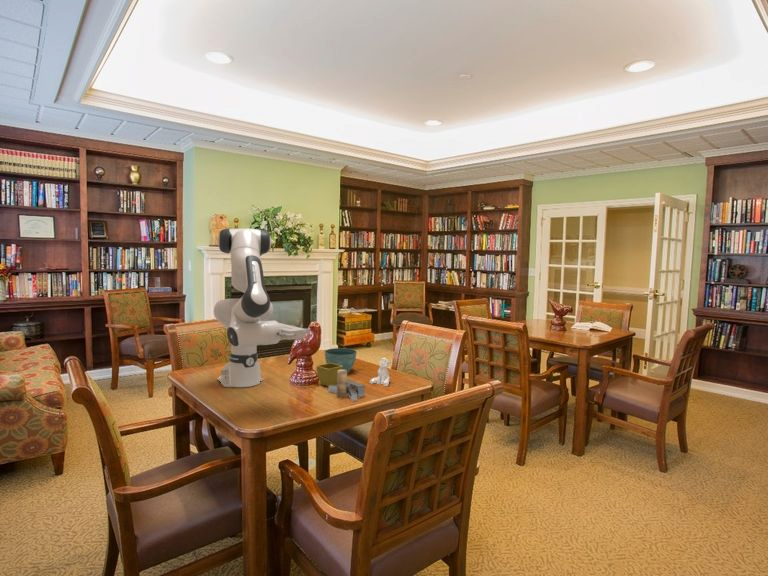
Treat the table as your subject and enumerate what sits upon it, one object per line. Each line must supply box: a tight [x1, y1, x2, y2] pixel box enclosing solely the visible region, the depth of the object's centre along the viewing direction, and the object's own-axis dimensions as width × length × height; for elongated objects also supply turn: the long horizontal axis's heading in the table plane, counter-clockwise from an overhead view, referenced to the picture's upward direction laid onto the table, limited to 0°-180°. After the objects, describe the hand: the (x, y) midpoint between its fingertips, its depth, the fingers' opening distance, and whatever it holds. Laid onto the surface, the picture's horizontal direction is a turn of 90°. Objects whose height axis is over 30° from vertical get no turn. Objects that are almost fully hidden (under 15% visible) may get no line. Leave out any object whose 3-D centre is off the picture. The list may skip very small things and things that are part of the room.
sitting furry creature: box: [369, 357, 392, 387], centre depth 219 cm, size 10×9×12 cm
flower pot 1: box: [324, 347, 358, 374], centre depth 237 cm, size 16×16×11 cm
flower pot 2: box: [316, 363, 343, 388], centre depth 214 cm, size 9×9×9 cm
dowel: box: [336, 370, 348, 399], centre depth 197 cm, size 4×4×11 cm
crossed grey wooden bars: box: [328, 378, 366, 402], centre depth 200 cm, size 18×8×5 cm, turn 43°
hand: (302, 329), depth 185 cm, fingers open, 8 cm apart
